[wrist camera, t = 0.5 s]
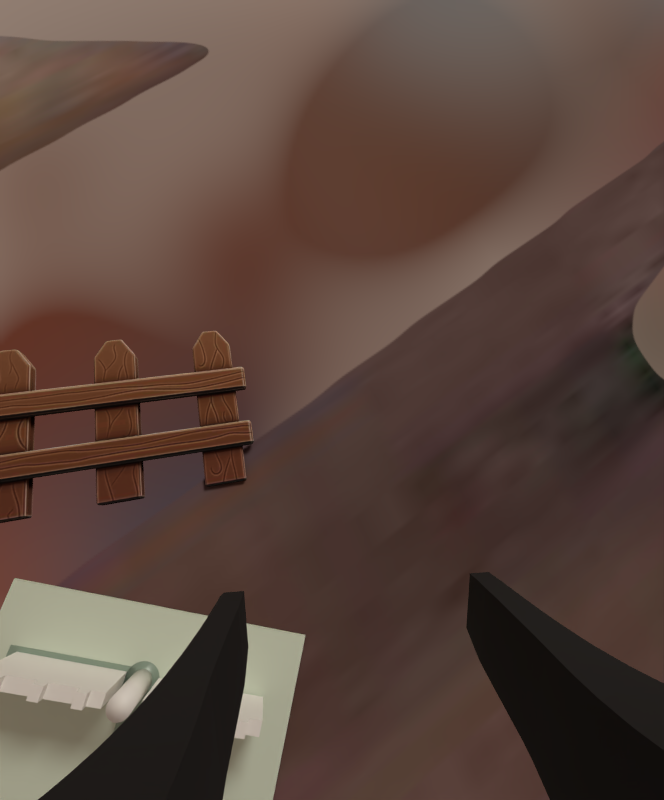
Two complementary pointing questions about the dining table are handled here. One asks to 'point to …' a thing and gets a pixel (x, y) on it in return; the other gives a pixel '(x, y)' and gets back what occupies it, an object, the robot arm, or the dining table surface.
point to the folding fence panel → (243, 714)
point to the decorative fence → (119, 423)
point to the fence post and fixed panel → (73, 683)
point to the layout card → (127, 651)
